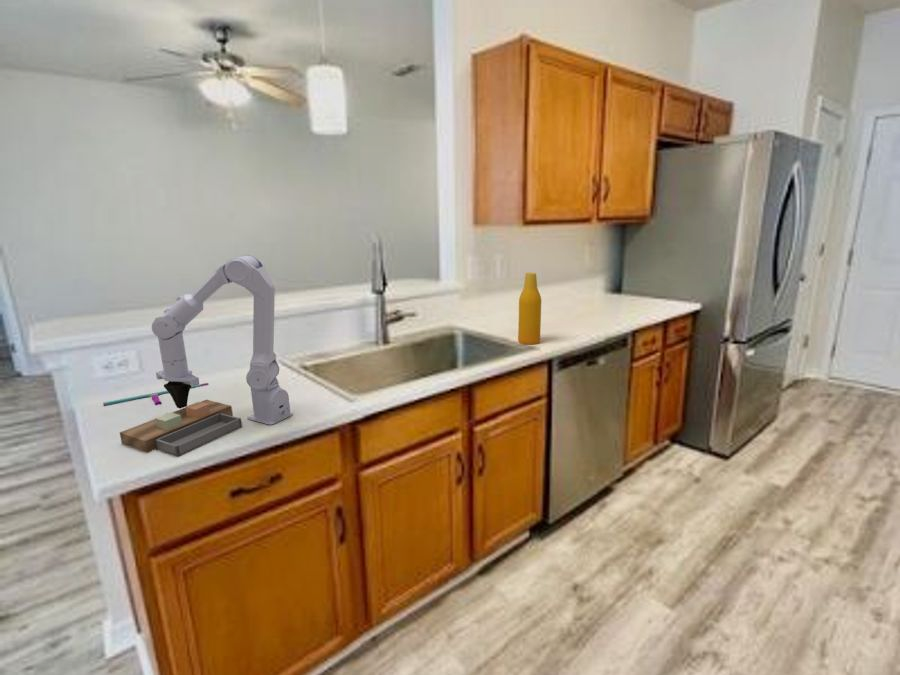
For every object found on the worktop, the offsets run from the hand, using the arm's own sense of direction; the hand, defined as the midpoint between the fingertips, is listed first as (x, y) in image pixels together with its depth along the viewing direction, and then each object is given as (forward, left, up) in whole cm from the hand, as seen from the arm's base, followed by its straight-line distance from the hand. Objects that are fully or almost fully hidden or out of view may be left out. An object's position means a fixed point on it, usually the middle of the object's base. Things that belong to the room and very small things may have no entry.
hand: (182, 406), depth 134 cm
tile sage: (-7, +8, -1) cm, 10 cm away
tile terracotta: (-7, 0, -1) cm, 7 cm away
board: (-4, +4, -4) cm, 7 cm away
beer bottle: (-58, -117, -4) cm, 131 cm away
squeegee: (+22, -7, -5) cm, 23 cm away
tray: (-14, +5, -4) cm, 15 cm away
